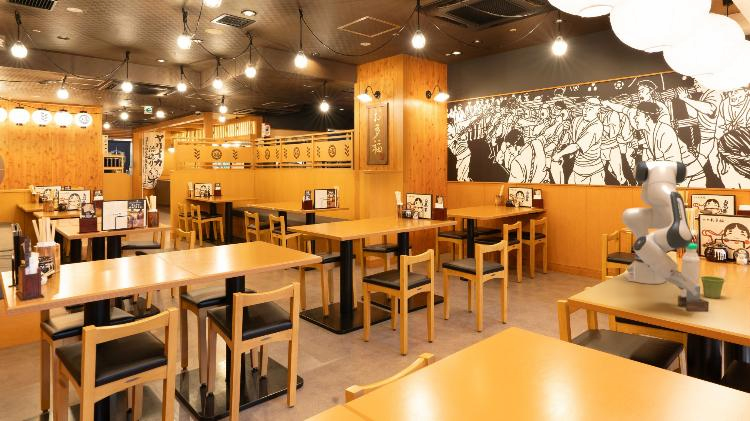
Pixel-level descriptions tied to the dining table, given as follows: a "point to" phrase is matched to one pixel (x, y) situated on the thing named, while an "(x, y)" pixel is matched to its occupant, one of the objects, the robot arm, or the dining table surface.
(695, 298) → the grey tall block
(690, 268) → the water bottle
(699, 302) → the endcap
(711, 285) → the plant pot
